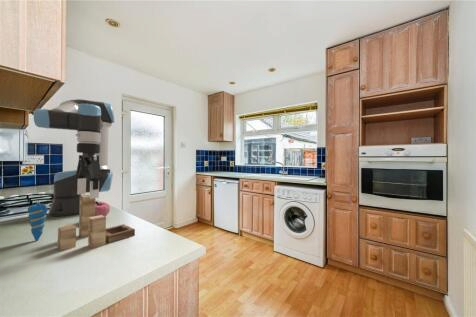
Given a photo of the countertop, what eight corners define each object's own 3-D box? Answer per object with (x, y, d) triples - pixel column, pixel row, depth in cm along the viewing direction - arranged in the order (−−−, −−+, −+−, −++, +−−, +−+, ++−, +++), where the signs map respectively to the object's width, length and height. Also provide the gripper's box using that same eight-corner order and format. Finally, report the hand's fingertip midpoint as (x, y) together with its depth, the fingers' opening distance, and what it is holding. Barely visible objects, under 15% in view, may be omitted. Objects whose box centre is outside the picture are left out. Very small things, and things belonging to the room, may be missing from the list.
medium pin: (88, 245, 71) (88, 217, 71) (100, 241, 74) (101, 215, 74) (92, 248, 69) (93, 219, 69) (105, 244, 72) (106, 217, 72)
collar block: (98, 236, 79) (98, 230, 79) (123, 230, 86) (123, 224, 86) (108, 243, 73) (109, 236, 73) (134, 235, 81) (134, 229, 81)
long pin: (78, 235, 80) (79, 195, 79) (90, 232, 83) (91, 194, 83) (82, 238, 77) (83, 197, 77) (94, 235, 80) (95, 195, 80)
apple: (110, 221, 98) (111, 200, 98) (89, 225, 92) (89, 203, 92) (106, 216, 104) (106, 197, 104) (85, 220, 98) (86, 200, 98)
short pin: (57, 247, 69) (58, 227, 69) (72, 243, 72) (72, 224, 72) (60, 250, 67) (61, 230, 67) (75, 246, 70) (76, 226, 70)
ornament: (24, 244, 70) (25, 202, 70) (29, 239, 75) (30, 199, 75) (44, 241, 73) (45, 201, 73) (48, 236, 78) (49, 198, 78)
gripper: (67, 143, 84) (65, 193, 84) (89, 141, 70) (88, 201, 69) (88, 144, 90) (87, 191, 90) (112, 142, 76) (111, 198, 75)
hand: (87, 196), depth 80 cm, fingers open, 13 cm apart
